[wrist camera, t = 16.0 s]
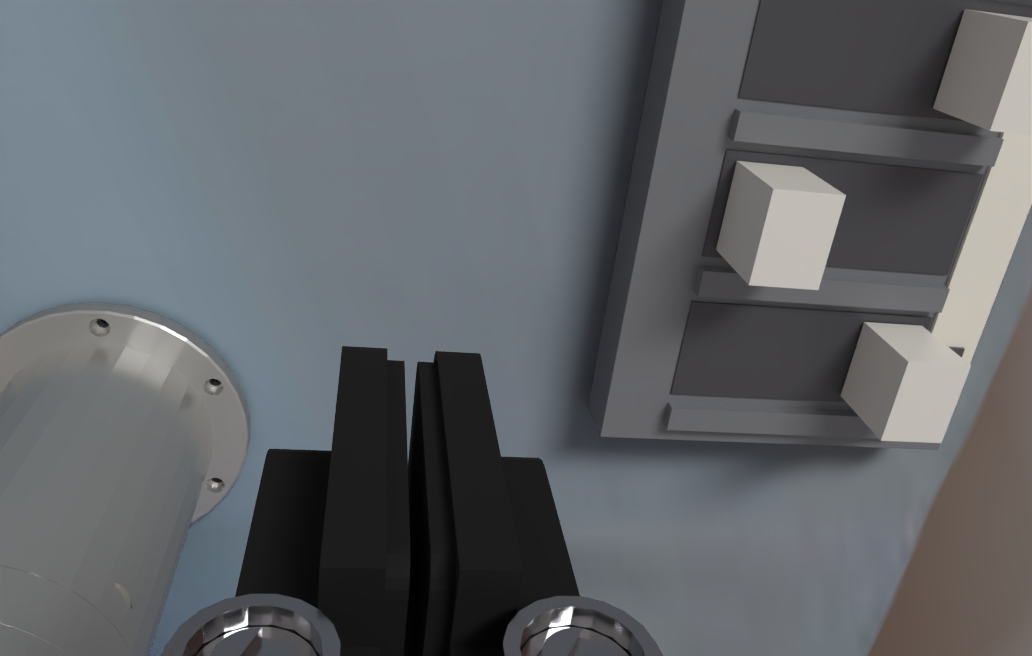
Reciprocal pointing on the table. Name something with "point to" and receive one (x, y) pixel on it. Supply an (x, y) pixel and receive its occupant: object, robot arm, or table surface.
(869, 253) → the switch bank
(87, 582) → the robot arm
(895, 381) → the tab
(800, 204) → the tab middle
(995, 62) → the tab
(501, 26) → the table surface
